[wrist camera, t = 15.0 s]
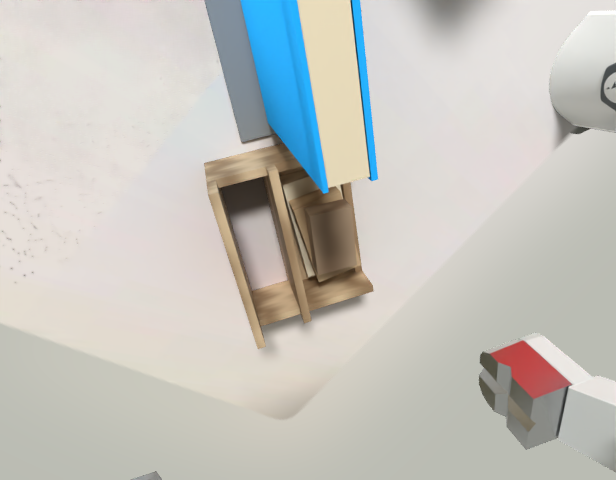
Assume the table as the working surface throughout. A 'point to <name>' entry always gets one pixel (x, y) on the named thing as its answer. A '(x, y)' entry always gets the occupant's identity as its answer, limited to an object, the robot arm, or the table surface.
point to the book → (315, 84)
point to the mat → (238, 68)
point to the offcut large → (292, 189)
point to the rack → (299, 287)
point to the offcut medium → (300, 219)
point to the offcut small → (331, 236)
